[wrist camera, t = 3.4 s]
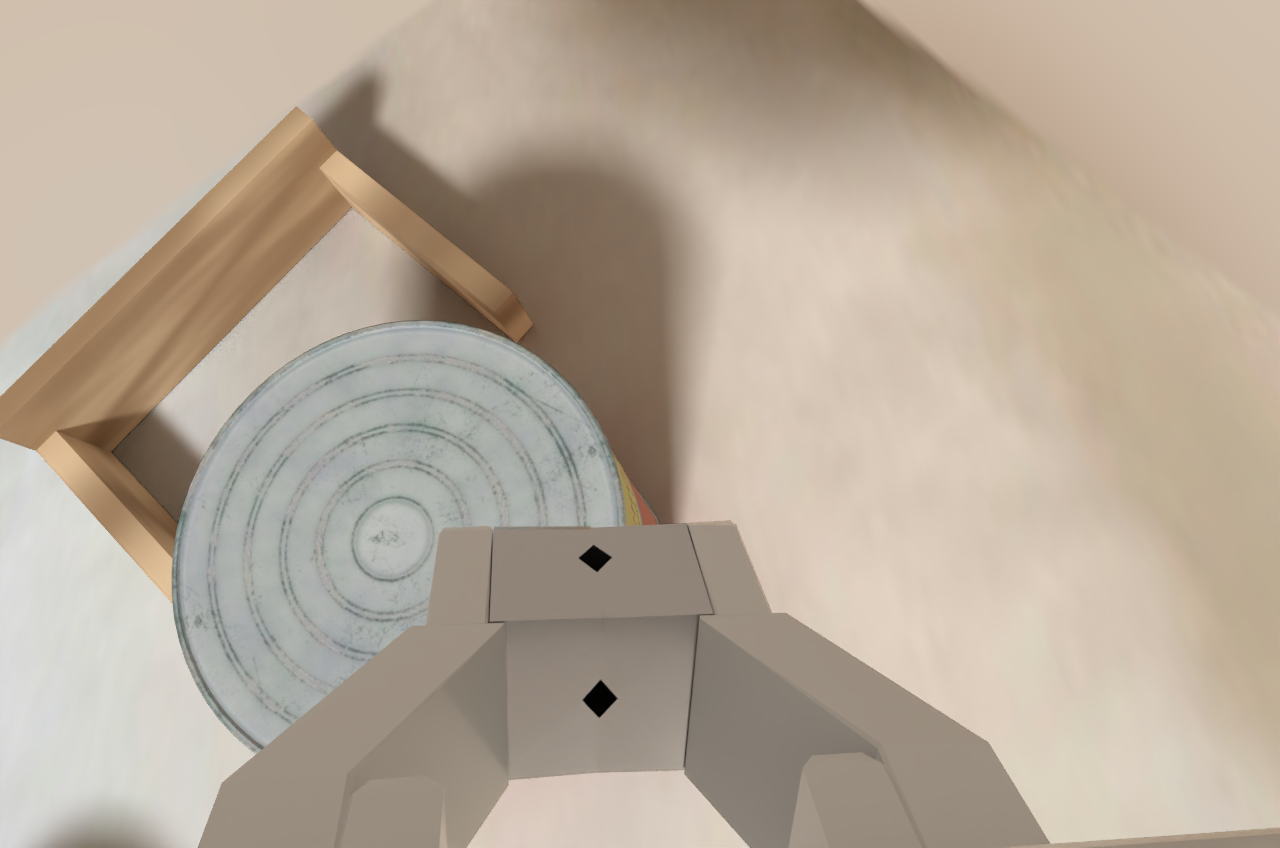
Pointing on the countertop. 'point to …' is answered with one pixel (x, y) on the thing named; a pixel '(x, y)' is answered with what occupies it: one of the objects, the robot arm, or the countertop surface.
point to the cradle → (207, 318)
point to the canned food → (368, 504)
